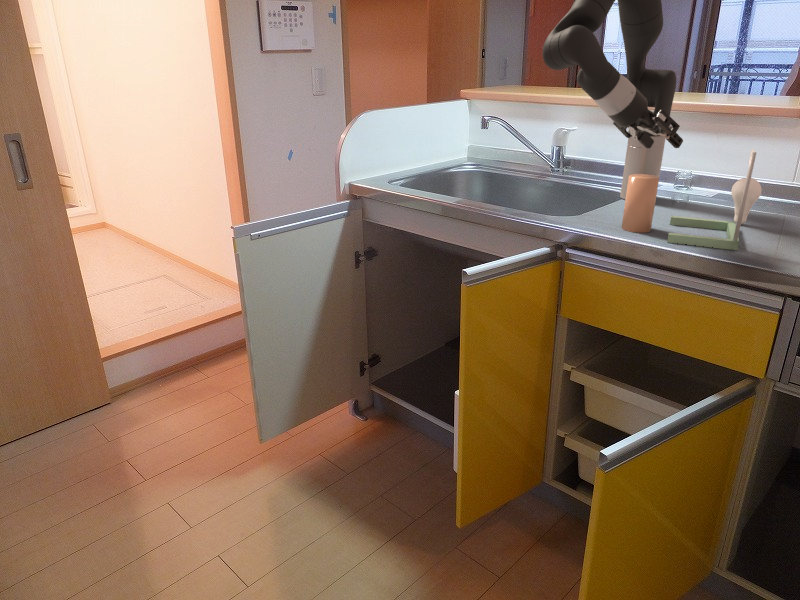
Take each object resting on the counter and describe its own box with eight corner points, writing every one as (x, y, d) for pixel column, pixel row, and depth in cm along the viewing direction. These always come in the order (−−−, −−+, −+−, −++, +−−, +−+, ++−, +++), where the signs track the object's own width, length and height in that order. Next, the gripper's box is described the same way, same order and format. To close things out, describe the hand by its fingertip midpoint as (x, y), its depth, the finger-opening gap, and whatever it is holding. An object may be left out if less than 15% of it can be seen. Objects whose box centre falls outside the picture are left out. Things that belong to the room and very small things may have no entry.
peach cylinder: (622, 223, 148) (630, 173, 143) (651, 226, 145) (659, 175, 141) (620, 230, 142) (627, 178, 138) (649, 234, 140) (658, 180, 135)
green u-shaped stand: (670, 223, 149) (684, 137, 141) (733, 229, 144) (752, 141, 136) (667, 242, 134) (683, 148, 127) (737, 250, 129) (758, 153, 122)
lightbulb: (728, 219, 152) (737, 174, 147) (756, 223, 148) (766, 177, 144) (721, 224, 147) (731, 178, 143) (750, 229, 144) (761, 181, 139)
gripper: (653, 80, 124) (699, 129, 131) (606, 87, 137) (650, 131, 144) (633, 112, 124) (680, 159, 131) (588, 116, 137) (633, 159, 144)
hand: (664, 145), depth 138 cm, fingers open, 8 cm apart
